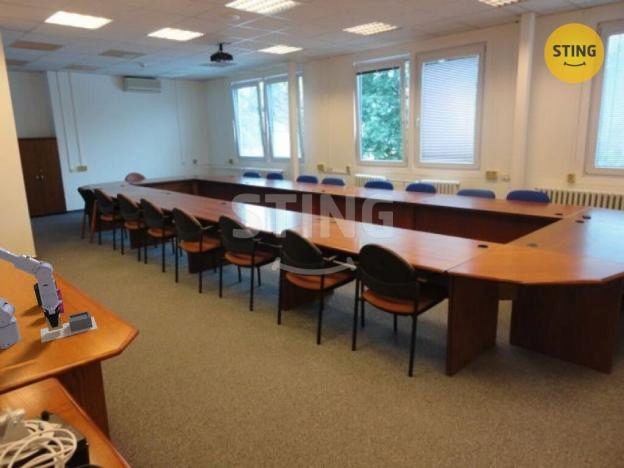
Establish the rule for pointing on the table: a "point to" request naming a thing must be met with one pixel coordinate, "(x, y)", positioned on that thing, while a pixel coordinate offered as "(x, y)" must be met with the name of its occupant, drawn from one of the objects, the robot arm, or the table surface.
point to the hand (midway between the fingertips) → (54, 324)
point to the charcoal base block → (80, 321)
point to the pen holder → (37, 292)
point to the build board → (63, 332)
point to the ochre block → (54, 327)
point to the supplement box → (59, 300)
